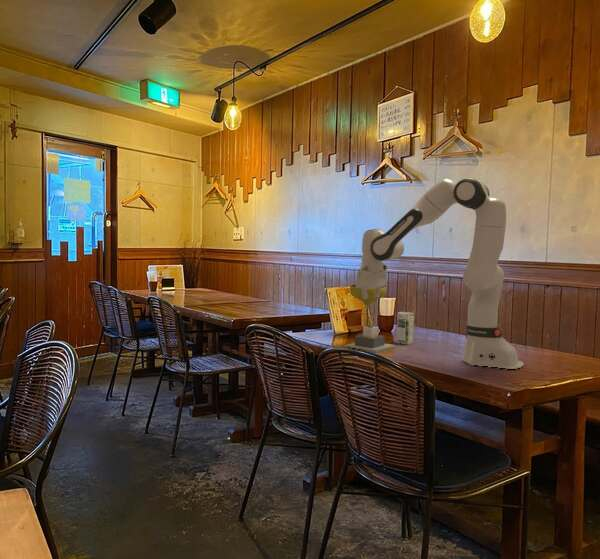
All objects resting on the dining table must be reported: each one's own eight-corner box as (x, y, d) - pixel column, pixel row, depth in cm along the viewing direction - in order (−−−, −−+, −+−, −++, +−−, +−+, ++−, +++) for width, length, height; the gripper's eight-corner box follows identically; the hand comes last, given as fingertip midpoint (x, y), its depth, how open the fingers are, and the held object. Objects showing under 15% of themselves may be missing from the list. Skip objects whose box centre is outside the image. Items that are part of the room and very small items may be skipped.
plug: (376, 345, 221) (377, 324, 220) (371, 346, 217) (372, 326, 217) (367, 343, 223) (368, 323, 223) (362, 345, 220) (363, 324, 219)
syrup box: (396, 343, 231) (397, 312, 230) (402, 341, 236) (403, 311, 235) (406, 344, 227) (407, 313, 226) (413, 343, 232) (414, 312, 231)
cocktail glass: (345, 332, 257) (346, 284, 255) (379, 332, 259) (380, 285, 257) (353, 339, 239) (354, 287, 237) (389, 339, 241) (391, 287, 240)
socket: (394, 347, 222) (394, 336, 221) (376, 352, 209) (376, 340, 209) (363, 342, 232) (363, 331, 231) (344, 347, 219) (344, 336, 219)
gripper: (365, 267, 208) (364, 300, 209) (389, 266, 224) (388, 296, 225) (352, 266, 212) (352, 298, 213) (377, 265, 228) (376, 295, 229)
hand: (371, 297), depth 219 cm, fingers open, 8 cm apart
